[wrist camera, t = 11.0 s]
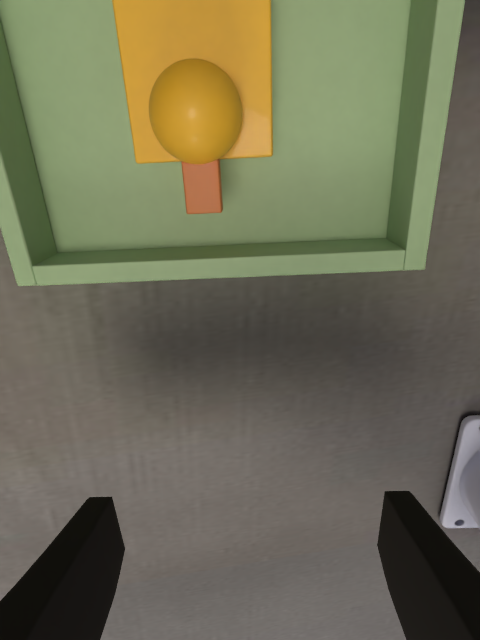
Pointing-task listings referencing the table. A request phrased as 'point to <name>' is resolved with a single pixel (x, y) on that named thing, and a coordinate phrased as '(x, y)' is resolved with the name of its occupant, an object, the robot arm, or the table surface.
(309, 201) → the tray
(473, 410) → the table surface
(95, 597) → the robot arm
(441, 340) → the table surface
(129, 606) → the table surface
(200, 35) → the toy duck
